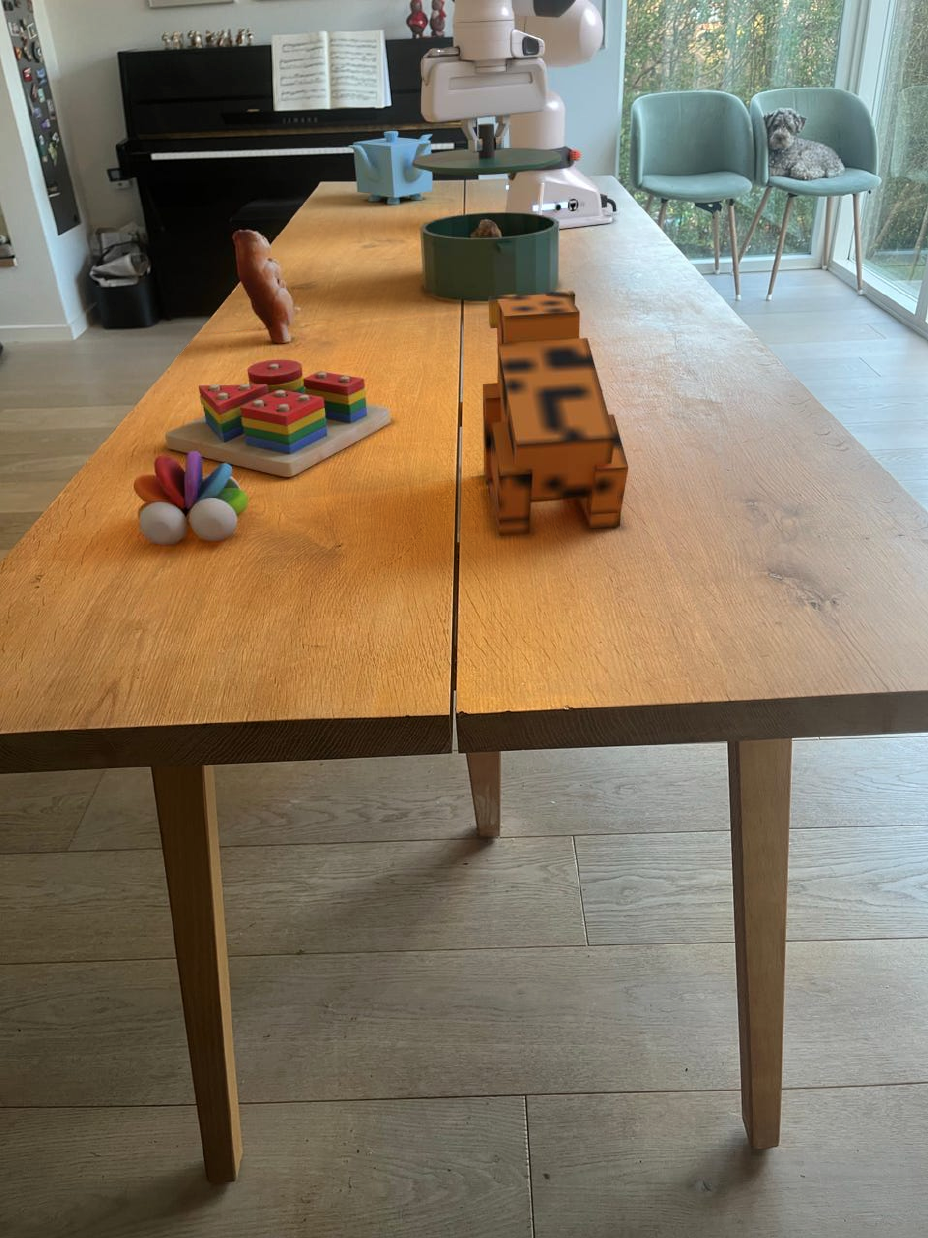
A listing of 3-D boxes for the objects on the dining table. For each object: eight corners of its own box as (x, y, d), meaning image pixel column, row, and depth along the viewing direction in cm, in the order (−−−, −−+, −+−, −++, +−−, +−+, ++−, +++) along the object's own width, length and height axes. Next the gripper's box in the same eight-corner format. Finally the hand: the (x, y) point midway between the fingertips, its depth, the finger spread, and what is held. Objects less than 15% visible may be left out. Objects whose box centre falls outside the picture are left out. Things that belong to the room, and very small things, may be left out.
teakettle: (362, 194, 243) (356, 128, 235) (438, 191, 242) (434, 125, 234) (352, 208, 227) (346, 137, 219) (433, 205, 226) (429, 134, 218)
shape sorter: (289, 479, 97) (281, 420, 94) (165, 449, 105) (153, 393, 102) (392, 422, 109) (388, 368, 106) (274, 398, 117) (267, 348, 114)
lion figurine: (471, 275, 165) (469, 217, 160) (503, 273, 165) (502, 216, 160) (474, 297, 152) (472, 235, 147) (509, 295, 152) (508, 234, 148)
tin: (535, 263, 172) (536, 205, 167) (578, 301, 150) (580, 235, 145) (413, 273, 169) (410, 214, 164) (438, 313, 147) (434, 247, 142)
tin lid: (501, 151, 163) (501, 113, 160) (592, 163, 147) (593, 121, 144) (384, 167, 153) (382, 126, 150) (469, 182, 137) (467, 136, 134)
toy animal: (502, 547, 83) (498, 362, 75) (479, 456, 100) (474, 296, 92) (625, 538, 84) (635, 353, 75) (582, 449, 101) (586, 289, 92)
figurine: (308, 335, 140) (294, 223, 132) (278, 350, 134) (262, 234, 126) (272, 331, 142) (256, 221, 134) (241, 346, 136) (222, 232, 128)
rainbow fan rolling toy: (151, 511, 92) (134, 438, 88) (255, 504, 92) (243, 431, 88) (133, 554, 85) (113, 476, 81) (246, 546, 85) (232, 468, 81)
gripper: (431, 49, 135) (436, 159, 142) (554, 41, 143) (553, 145, 151) (409, 48, 140) (416, 155, 147) (530, 40, 148) (530, 142, 155)
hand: (486, 150), depth 149 cm, fingers closed on tin lid, 2 cm apart
